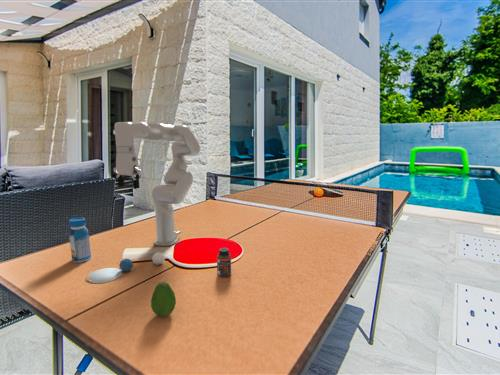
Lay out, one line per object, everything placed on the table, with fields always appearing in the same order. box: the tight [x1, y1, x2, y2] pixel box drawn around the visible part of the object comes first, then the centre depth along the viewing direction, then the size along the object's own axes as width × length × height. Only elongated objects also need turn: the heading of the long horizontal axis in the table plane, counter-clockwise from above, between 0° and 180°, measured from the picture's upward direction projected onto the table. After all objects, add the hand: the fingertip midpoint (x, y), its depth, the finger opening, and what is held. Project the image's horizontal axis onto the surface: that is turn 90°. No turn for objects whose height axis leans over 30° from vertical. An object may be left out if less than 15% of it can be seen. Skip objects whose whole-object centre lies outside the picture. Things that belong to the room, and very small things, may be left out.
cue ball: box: [152, 252, 166, 266], centre depth 147 cm, size 6×6×6 cm
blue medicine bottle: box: [68, 216, 92, 263], centre depth 151 cm, size 8×8×20 cm
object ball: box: [119, 258, 134, 273], centre depth 140 cm, size 6×6×6 cm
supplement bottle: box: [216, 247, 232, 278], centre depth 135 cm, size 6×6×11 cm
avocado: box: [150, 281, 177, 318], centre depth 107 cm, size 8×8×12 cm
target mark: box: [85, 267, 123, 284], centre depth 137 cm, size 14×14×1 cm
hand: (128, 187), depth 148 cm, fingers open, 9 cm apart
